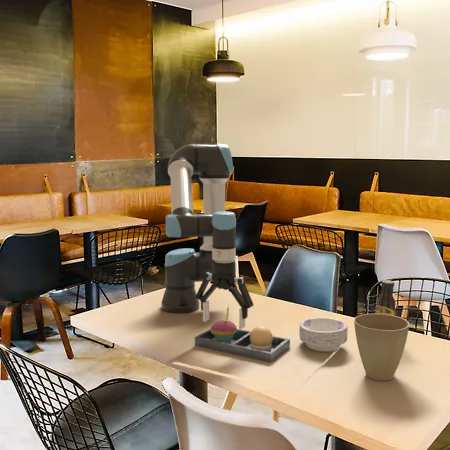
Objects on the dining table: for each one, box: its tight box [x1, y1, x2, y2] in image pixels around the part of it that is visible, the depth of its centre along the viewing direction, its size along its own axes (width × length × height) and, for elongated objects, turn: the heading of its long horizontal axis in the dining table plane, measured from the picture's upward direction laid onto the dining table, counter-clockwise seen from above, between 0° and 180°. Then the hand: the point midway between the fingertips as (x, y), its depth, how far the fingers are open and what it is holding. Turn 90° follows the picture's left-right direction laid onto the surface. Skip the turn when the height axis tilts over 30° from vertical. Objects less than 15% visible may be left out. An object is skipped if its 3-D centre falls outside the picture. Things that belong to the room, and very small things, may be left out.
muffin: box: [250, 325, 274, 352], centre depth 169 cm, size 7×7×8 cm
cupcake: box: [210, 305, 238, 344], centre depth 175 cm, size 9×8×12 cm
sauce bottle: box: [375, 279, 397, 316], centre depth 180 cm, size 7×6×20 cm
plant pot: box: [353, 313, 410, 381], centre depth 152 cm, size 15×15×16 cm
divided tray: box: [194, 328, 291, 364], centre depth 172 cm, size 27×14×4 cm, turn 60°
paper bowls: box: [299, 317, 349, 352], centre depth 173 cm, size 15×15×8 cm
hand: (223, 324), depth 175 cm, fingers open, 13 cm apart
